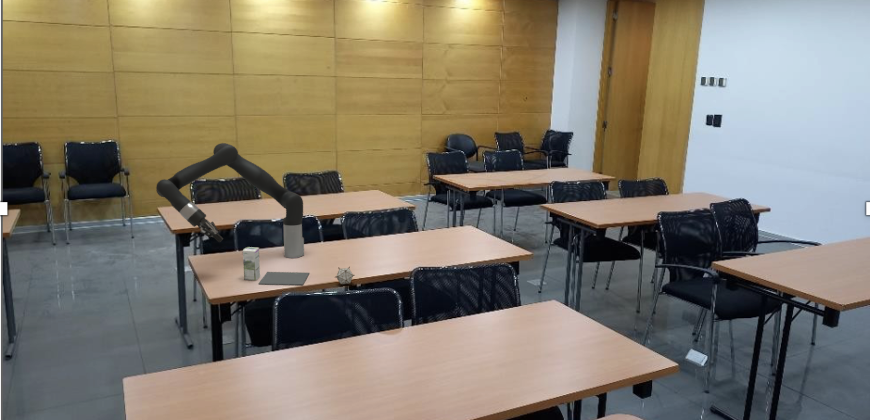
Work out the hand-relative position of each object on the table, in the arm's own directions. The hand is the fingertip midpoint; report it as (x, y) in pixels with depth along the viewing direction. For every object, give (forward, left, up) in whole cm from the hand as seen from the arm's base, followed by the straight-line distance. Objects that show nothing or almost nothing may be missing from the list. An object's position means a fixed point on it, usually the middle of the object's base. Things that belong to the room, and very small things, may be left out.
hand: (221, 240), depth 285 cm
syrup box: (-10, +9, -18) cm, 22 cm away
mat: (-22, +18, -18) cm, 33 cm away
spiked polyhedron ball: (-40, +41, -18) cm, 60 cm away
